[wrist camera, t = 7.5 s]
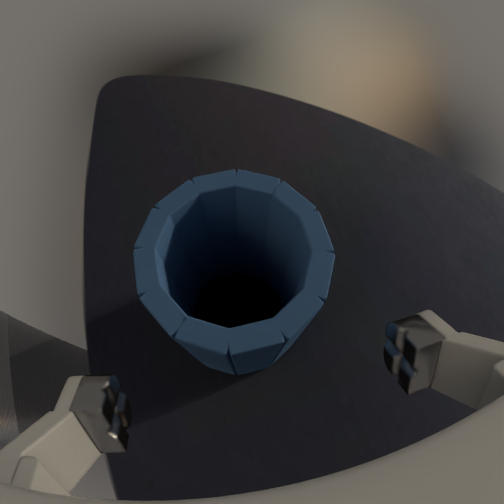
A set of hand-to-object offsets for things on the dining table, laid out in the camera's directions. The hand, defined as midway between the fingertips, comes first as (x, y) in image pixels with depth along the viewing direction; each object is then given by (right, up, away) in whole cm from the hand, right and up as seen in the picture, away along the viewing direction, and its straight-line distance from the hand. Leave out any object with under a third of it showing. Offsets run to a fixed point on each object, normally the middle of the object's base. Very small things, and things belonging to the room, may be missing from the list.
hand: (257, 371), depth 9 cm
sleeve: (-1, 0, +9) cm, 9 cm away
